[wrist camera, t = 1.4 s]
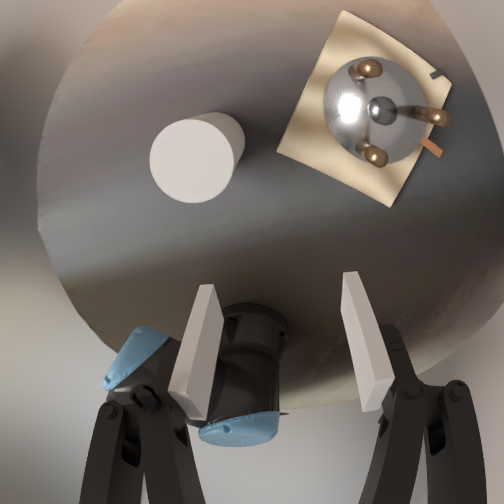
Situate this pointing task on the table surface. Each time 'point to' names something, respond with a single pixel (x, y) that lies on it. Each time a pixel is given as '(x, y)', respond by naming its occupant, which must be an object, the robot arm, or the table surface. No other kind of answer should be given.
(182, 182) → the cup
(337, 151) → the base board
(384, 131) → the capstan wheel
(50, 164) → the table surface
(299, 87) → the table surface
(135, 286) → the table surface
